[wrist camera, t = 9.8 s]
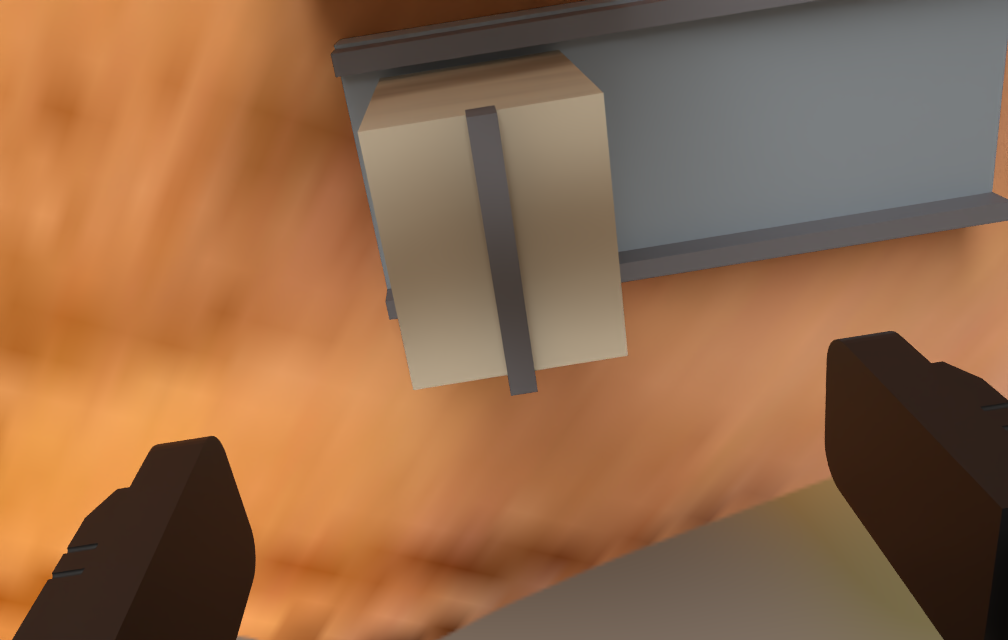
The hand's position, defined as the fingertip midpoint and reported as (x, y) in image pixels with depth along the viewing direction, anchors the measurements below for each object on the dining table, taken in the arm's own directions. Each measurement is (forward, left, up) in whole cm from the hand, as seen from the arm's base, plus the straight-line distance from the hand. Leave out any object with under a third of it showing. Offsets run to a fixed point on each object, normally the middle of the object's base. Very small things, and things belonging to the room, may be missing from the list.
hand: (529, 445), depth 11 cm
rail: (0, +6, -17) cm, 18 cm away
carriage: (0, 0, -15) cm, 15 cm away
